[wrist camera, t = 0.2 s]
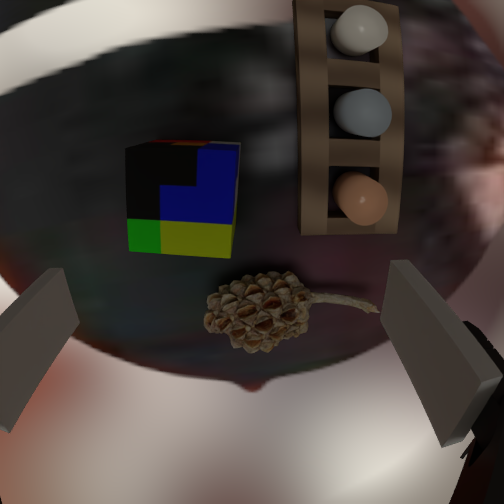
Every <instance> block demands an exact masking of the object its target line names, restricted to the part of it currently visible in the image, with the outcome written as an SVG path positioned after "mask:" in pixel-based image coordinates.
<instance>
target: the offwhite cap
mask: <svg viewBox="0 0 504 504" xmlns="http://www.w3.org/2000/svg"><path fill="white" fill-rule="evenodd" d="M387 36H388V26H387V23H386V21H385V19H384V18H383V17H382V15H381V14H380V13H379V12H377V11H376V10H375V9H373V8H371V7H368V6H364V5H355V6H352V7H350V8H348V9H347V10H346V11H345V12H344V13H343V14H342V15H341V16H340V17H339V18H338V20H337V21H336V22H335V23H334V24H333V25H332V27H331V30H330V38H331V41H332V43H333V45H334V46H335V47H336V48H337V49H338V50H339V51H340V52H341V53H343V54H345V55H348V56H361V55H363V54H365V53H367V52H369V51H371V50H373V49H375V48H377V47H379V46H381V45H382V44H383V43H384V42H385V41H386V39H387Z"/></svg>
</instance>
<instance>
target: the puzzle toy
mask: <svg viewBox="0 0 504 504" xmlns="http://www.w3.org/2000/svg"><path fill="white" fill-rule="evenodd" d="M240 149H241V142H223V141H198V140H154V141H150V142H147V143H143V144H139V145H136V146H132V147H129V148H125V165H126V205H127V225H128V240H129V251H134V252H147V253H161V254H175V255H188V256H202V257H217V258H230V257H231V251H232V244H233V238H234V232H235V226H236V211H237V195H238V179H239V164H240Z"/></svg>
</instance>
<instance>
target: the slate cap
mask: <svg viewBox="0 0 504 504" xmlns="http://www.w3.org/2000/svg"><path fill="white" fill-rule="evenodd" d="M333 116H334V119H335V121H336V123H337V125H338V126H339V127H340V128H341V129H342V130H344V131H345V132H347V133H351V134H356V135H361V136H366V137H375V136H379V135H381V134H382V133H384V132H385V131H386V130H387V128H388V127H389V125H390V123H391V119H392V111H391V107H390V104H389V102H388V100H387V99H386V98H385V97H384V96H383V95H382V94H381V93H380V92H378V91H376V90H373V89H360V90H356V91H351V92H347V93H344V94H342V95H341V96H340V97H339V98H338V99H337V100H336V102H335V104H334V107H333Z"/></svg>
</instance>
